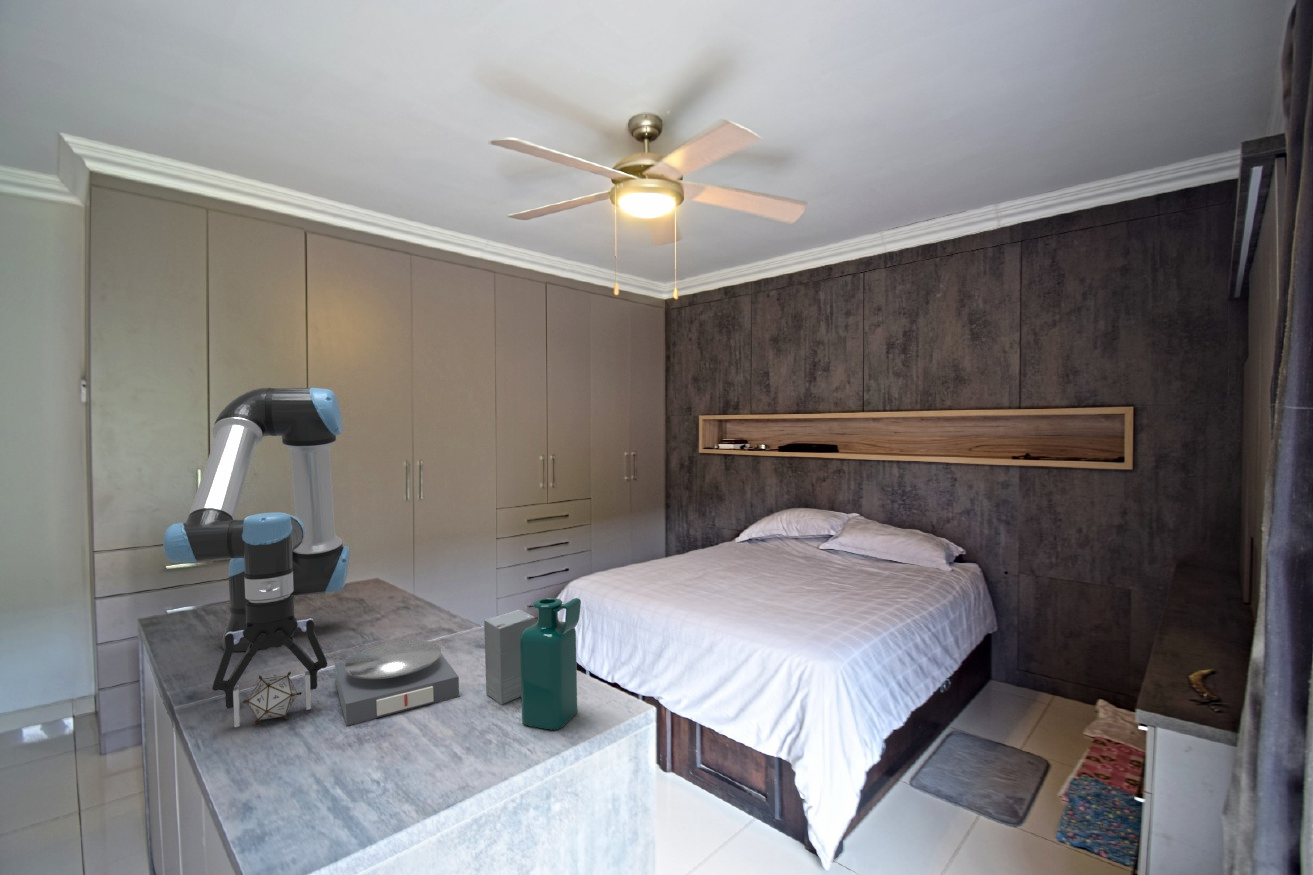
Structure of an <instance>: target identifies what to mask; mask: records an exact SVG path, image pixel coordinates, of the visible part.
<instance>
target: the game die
mask: <svg viewBox="0 0 1313 875" xmlns="http://www.w3.org/2000/svg"><path fill="white" fill-rule="evenodd" d="M290 675H292V671H291V670H290V671H288V672H287V674H286V675H282V676H273V677H265V678H263V677H262V675H258V679H259V681H258V683H257V685H256V686H255V688H254V689H253V691H252V693H251V694H250V696H249V697H248V699H244V700H243V701H242V703H243V704H248V706H249V707H250V709H251V711H252V713H253V714H254V716H255V718H256V720H255V721H254V726H256V725H257V724H259V721H262V720H268V719H276V718H284V720H287V721H288V720H289V716H288V715H287V714H288V712H289V711H290V709H291V707H292V706H293V703H294V702H295V700H296V698H297V697H298V696H301V695H303V692H301V691H297V689H296V687H295V685H294V684H293V681H292V680H291V678H290Z"/></svg>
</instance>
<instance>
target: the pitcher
mask: <svg viewBox="0 0 1313 875" xmlns="http://www.w3.org/2000/svg"><path fill="white" fill-rule="evenodd" d="M581 604H582V601H581V599H580V598H577V597H576V598H575V597H574V598H572V599H571V600H569V601H567V602H565V603H563V600H562V599H560V598H557V597H543V598H539V599H536V600H535V601H534V602H533V603H532V606H533V608H535V609H537V621H536V622H535V624H533V625H532V626H530V627H528V628H527V629H525V630H524V631H523V632H522V634H521V637H520V664H521V697H520V703H521V704H520V705H521V707H520V708H521V721H522V723H523V724H524V725H525V726H527V725H528V727H532V726H533V728H537V727H538V729H542V728H545V729H544V730H547V729H550V730H549V731H553V730H552V729H557V728H560V729H562V728H563V727H564V726H565V725H566V724H567V723H569V721H570V720H572V718H574V717H575V715H577V713H578V674H577V672H578V670H577V669H578V668H577V666H578V665H577V663H578V662H577V632H576V627H577V625H578V623H579V620H580V615H581ZM563 609H565V618H564V621H561V620H559V612H560V611H562V610H563ZM561 727H562V728H561ZM557 730H558V729H557Z"/></svg>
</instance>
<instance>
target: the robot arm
mask: <svg viewBox="0 0 1313 875" xmlns="http://www.w3.org/2000/svg"><path fill="white" fill-rule="evenodd" d="M342 421H343V418H342V412H341V407H340V403H339V401H338V398H337V396H336V394H335V393H334V391H333V390H330V389H328V388H317V387H283V388H282V387H276V388H274V387H273V388H271V387H260V388H256V389H252V390H250V391H249V390H248V391H247V392H245V393H243V394H240V395H239V396H237V397H236V398H235V399H233V400H232V401H230V402H229V403H228V404H227V405H226V406H225V407H224V408H223V409H222V410H221V412H220V413H219V414H218V416H217V417H216V419H215V421H214V424H213V426H212V431H211V432H212V435H213V437H214V441H213V444H212V447H211V449H210V452H209V455H208V459H207V460H206V464H205V467H204V470H203V472H202V476H201V479H200V482H199V485H198V488H197V490H196V493H195V495H194V499H193V500H192V504H191V508H190V510H189V513H188V517H187V520H186V522H184V521H183V522H179V523H173V524H171V525H169V527H167V528H166V530H165V532H164V536H163V541H162V542H163V543H162V544H163V552H164V555H165V556H166V559H167V560H168V561H169V562H171V563H177V564H178V563H182V564H183V563H198V562H210V561H221V560H229V559H230V560H229V562H228V574H227V578H228V590H229V593H228V594H229V610H230V611H229V613H230V614H229V618H228V620H227V624H226V627H225V630H224V632H223V636H222V641H221V642H222V649H223V654H222V657H221V660H220V662H219V666H218V667H217V671H216V674H215V677H214V680H213V684H212V690H213V691H215V692H216V691H224V693H225V707H226V709H227V710H228V709H233V721H234V722H233V723H234V724H233V725H234V728H238V727H240V725H241V705H240V704H241V703H240V701H241V700H240V685H239V684H237V683H238V682H239V680H240V679H241V677H242V675H243V674H244V672H245V671H246V669H247V668H248V666H249V664H251V663H250V662H251V661H252V659H253V658H254V657H255V655H256V654H257V652H258V651H259V650H261V651H264V650H265V651H266V650H269V649H271V648H281V647H282V646H283V645H284V646H285V647H286V648H287V649H288V650H289V651H290V652H291V653H292V654H293V655H294V656H295V657H296V659H297V660H298V661H299V662H300V663H301V664H302V666H304V668H305V669H306V670H305V671H304V686H305V687H304V690H305V692H304V693H305V709H306V711H308V710H311V709H312V701H311V700H312V698H311V697H312V695H311V691H312V690H316V689H317V687H318V672H319V671H320V670H321V669H325V668H327V666H328V662H327V657H326V655H325V653H324V651H323V648H322V647H321V644H320V641H319V640H318V639H319V638H318V637H317V634H316V632H315V629H314V628H315V624H314V623H315V622H314V618H313V617H311V616H309V617H307V618H306V619H301V620H300V619H299V620H297V619H296V617H295V597H300V596H309V595H310V596H311V595H321V594H324V595H326V594H327V593H334V592H339V591H342V590H343V589H344V587H345V585H346V581H347V577H348V570H349V562H350V547H349V546H346V545H344V546H343V540H342V538H341V537H339V536H338V535H337V534H336V526H335V524H336V523H335V506H334V493H333V492H334V491H333V477H332V463H331V447H332V446H333V445H334V444H335V443H336V442H337V436H339V435H342V433H343V422H342ZM269 436H270V437H281V440H282V442H281V443H282V445H283V446H284V447H286V448H287V449H288V450H290V461H291V462H290V463H291V475H292V489H293V490H292V491H293V500H294V501H293V502H294V503H293V504H294V513H295V514H294V515H292V514H288V513H286V512H283V511H282V512H281V511H280V512H263V513H256V514H251V515H249V516H246V517H245V518H244V519H235V518H236V515H237V512H238V508H239V504H240V500H241V497H242V495H243V494H242V493H243V489H244V487H245V483H246V479H247V475H248V472H249V469H250V465H251V461H252V458H253V454H254V452H255V447H256V446H257V447H258V446H259V444H260V443H261V442H262V440H263V438H264V437H269ZM297 628H300V630H301V631H302V632H303V633H304V632H305V633H306V636H307V639H308V641H309V644H310V646H311V648H312V650H313V653H314V655H315V657H316V659H317V661H315V662H314V661H313V659H312V658H311V656H309V654H307V653H306V651H305V650H304V649H303V648H302V647H301V645H299V643H298V642H297V641H296V639H295V638H294V636H295V631H296V630H297ZM233 652H236V653H237V652H245V653H244V654H243V656H242V657H241V658H240V660H239V661H238V664H237V665H236V666H235V669H234V670H233V672H232V673H231V674H230V676H229V678H228V679H227V680H224V679H225V676H226V672H227V670H228V666H229V664H230V661H231V658H232V655H233Z"/></svg>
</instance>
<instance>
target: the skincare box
mask: <svg viewBox="0 0 1313 875" xmlns="http://www.w3.org/2000/svg"><path fill="white" fill-rule="evenodd" d="M483 621H484V622H483V624H484V625H483V627H484V659H485V664H484V665H485V685H486V686H485V690H486V691H485V692H486V695H487V696H489V697H490V698H491V699H493V700H494V701H496V702H497V703H498V704H500V705H505V704H507V703H509V702H512V701H513V700H516V699H518V698H521V664H520V637H521V634H522V632H523V631H524V630H525V629H527V628H528V627H530V626H532V625H533V624H535V623H536V617H535V616H534V615H532V614H530V613H527V612H525V611H524V610H522V609H519V608H518V609H514V610H512V611H511V610H510V611H508V612H506V613H503V614H499V615H496V616H492V617H488V618H485V619H484V620H483Z"/></svg>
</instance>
